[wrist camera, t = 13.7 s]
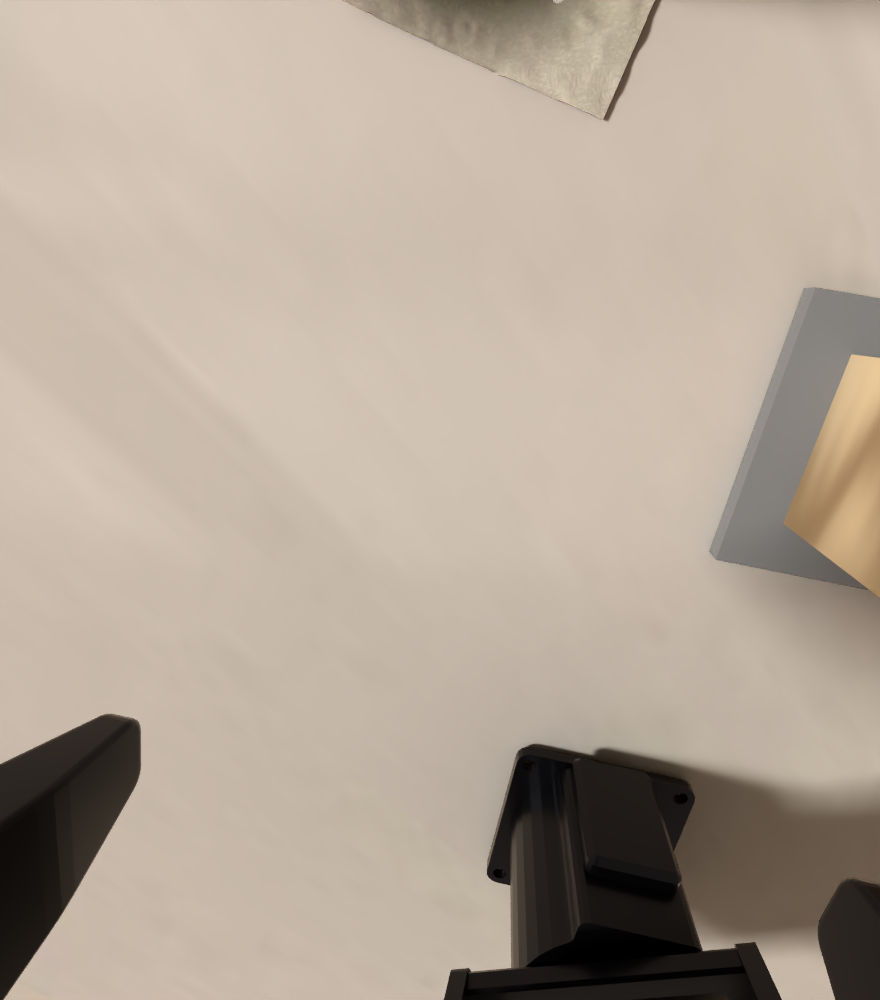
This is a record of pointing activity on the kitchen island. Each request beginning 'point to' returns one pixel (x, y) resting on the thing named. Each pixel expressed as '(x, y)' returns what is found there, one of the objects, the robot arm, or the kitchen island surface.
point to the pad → (795, 435)
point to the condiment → (532, 40)
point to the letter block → (846, 478)
